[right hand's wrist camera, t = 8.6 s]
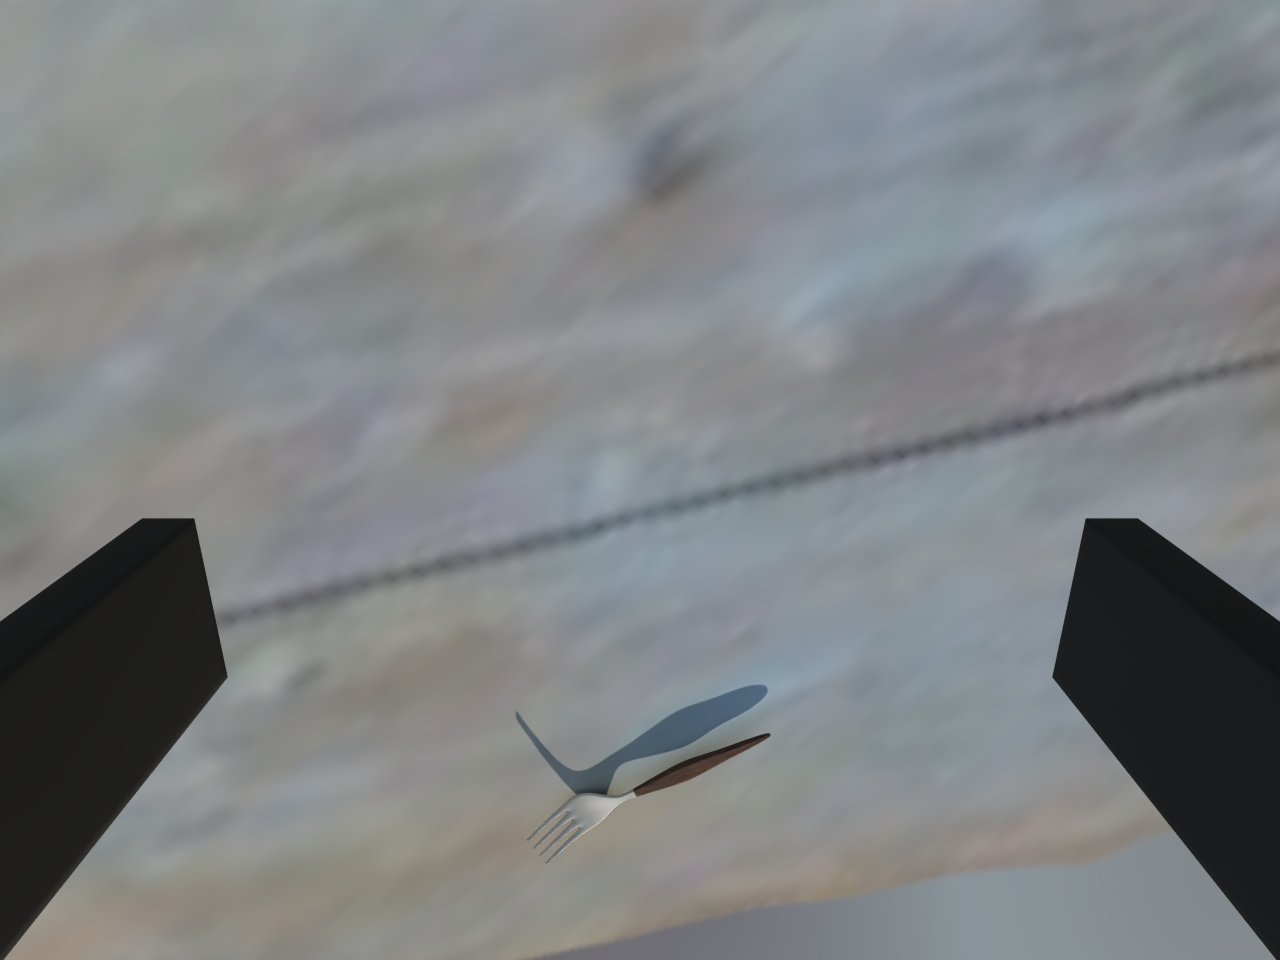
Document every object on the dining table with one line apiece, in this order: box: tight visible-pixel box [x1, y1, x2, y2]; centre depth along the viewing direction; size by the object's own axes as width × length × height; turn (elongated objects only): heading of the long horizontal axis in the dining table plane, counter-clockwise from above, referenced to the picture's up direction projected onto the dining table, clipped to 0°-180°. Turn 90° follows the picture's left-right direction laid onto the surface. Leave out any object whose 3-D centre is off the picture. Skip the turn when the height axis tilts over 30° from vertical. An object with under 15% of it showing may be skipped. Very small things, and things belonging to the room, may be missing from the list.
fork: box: [527, 733, 771, 865], centre depth 50 cm, size 3×16×2 cm, turn 118°
